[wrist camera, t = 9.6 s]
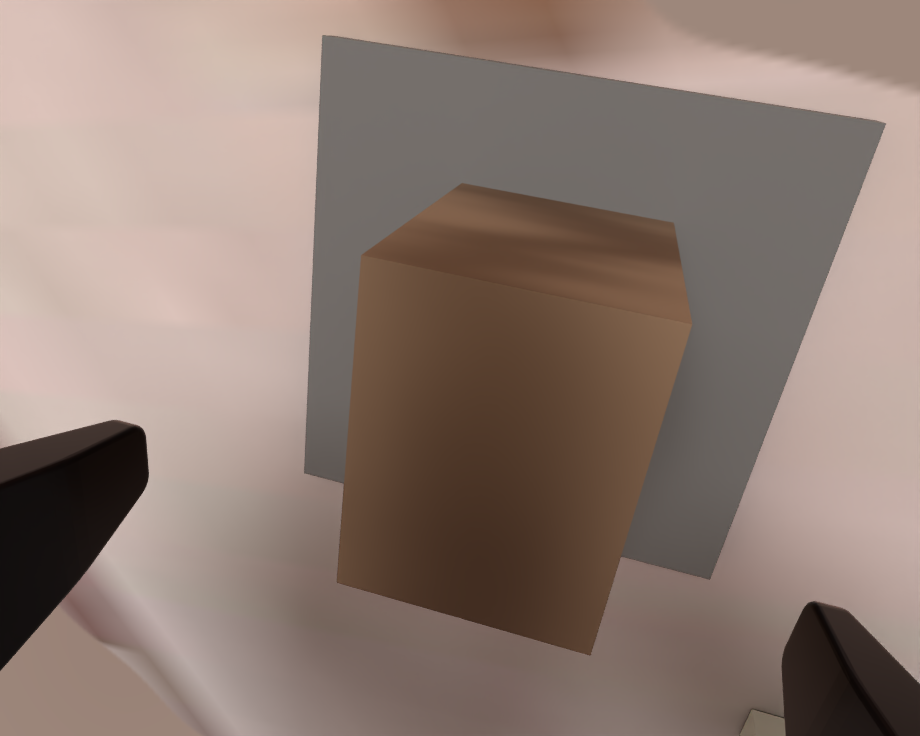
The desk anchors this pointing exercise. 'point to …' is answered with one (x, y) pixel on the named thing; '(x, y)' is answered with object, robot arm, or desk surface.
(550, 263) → the walnut block
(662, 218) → the rubber mat
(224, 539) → the desk surface
